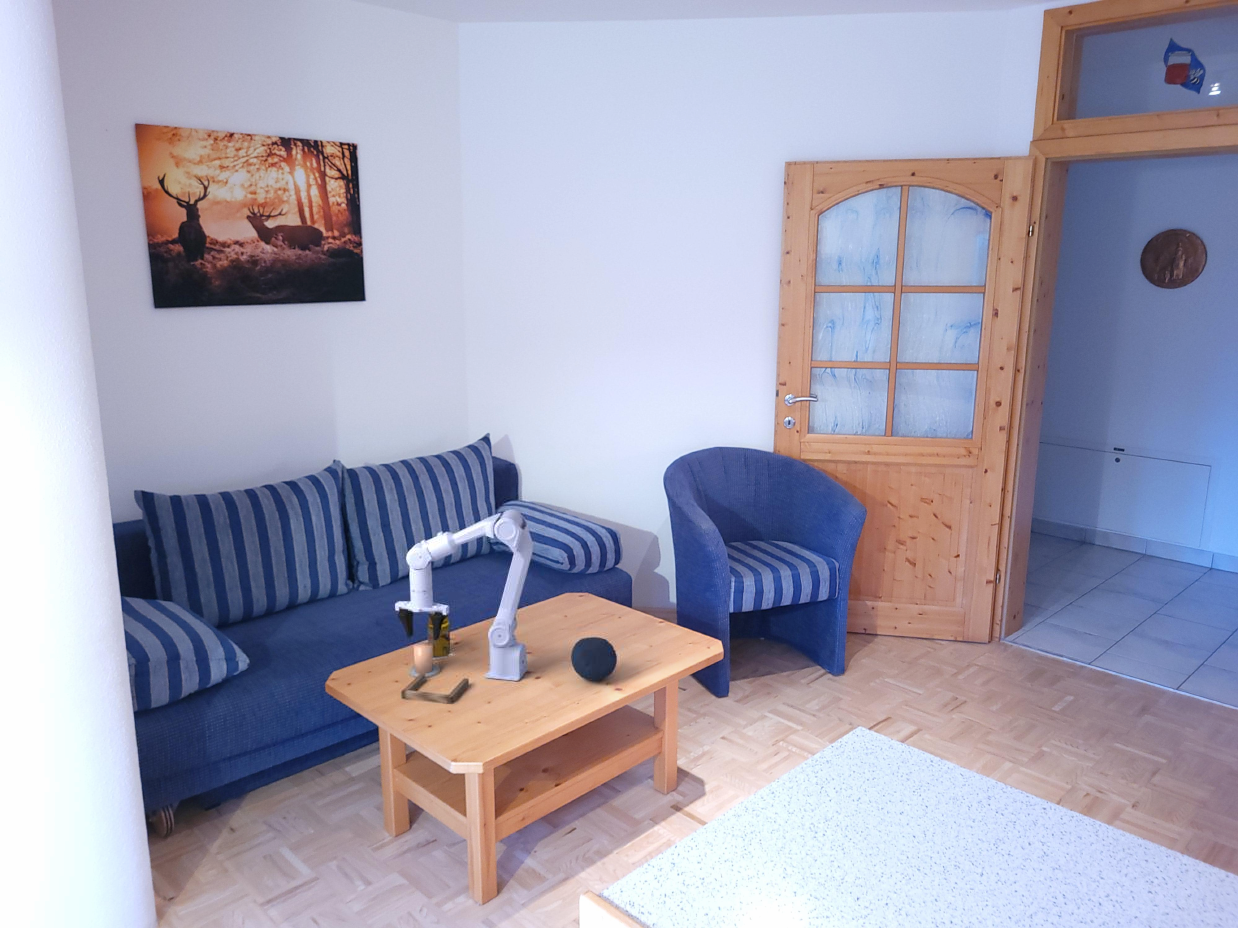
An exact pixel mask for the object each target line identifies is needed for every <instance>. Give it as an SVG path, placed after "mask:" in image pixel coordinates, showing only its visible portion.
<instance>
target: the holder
mask: <svg viewBox="0 0 1238 928" xmlns="http://www.w3.org/2000/svg"><path fill="white" fill-rule="evenodd" d="M425 681H426V678H425V674H420V675H419V676H418V677H416V678H415V677H414V679H412V681H411V682H410V683H409V684H408V685H407V686H406V687H404V689H402V690H401V695H400V696H401V699H405V700H413V701H421V702H430V703H431V702H432V703H440V704H446V705H447V704H449V705H452V704H453V703H454V702H455V701H456V700H457V698H459V696H460V695H461V694H462V693H463V692H464V691H465V690H466V689H467V688H468V687H469V685H470V683H469V682H470V681H469V678H462V680H460V682H459V683H458V684H457V685H456V686H455V687H454V688H453V690H451V691H450V693H448V694H445V693H437V692H427V691H419V690H417V689H418V688H420V686H422V684H423V683H425Z"/></svg>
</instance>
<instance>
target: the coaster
mask: <svg viewBox="0 0 1238 928" xmlns="http://www.w3.org/2000/svg"><path fill="white" fill-rule="evenodd" d="M440 668H441V667H439V666H438V665H437V664H435V663H434V664H433V671H432V672H430V673H427V674H425V679H428V678H432V677H435V676H437V675H438V674H439V673H440V672H441V671H440V670H441V669H440ZM408 672H409V676H411V677H412V676H413V677H412V678H414V679H415V678H416V677H418V676H419V675H420V674H417V673H415V667H414V666H412V667H411V668H410V669H409V670H408Z"/></svg>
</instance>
